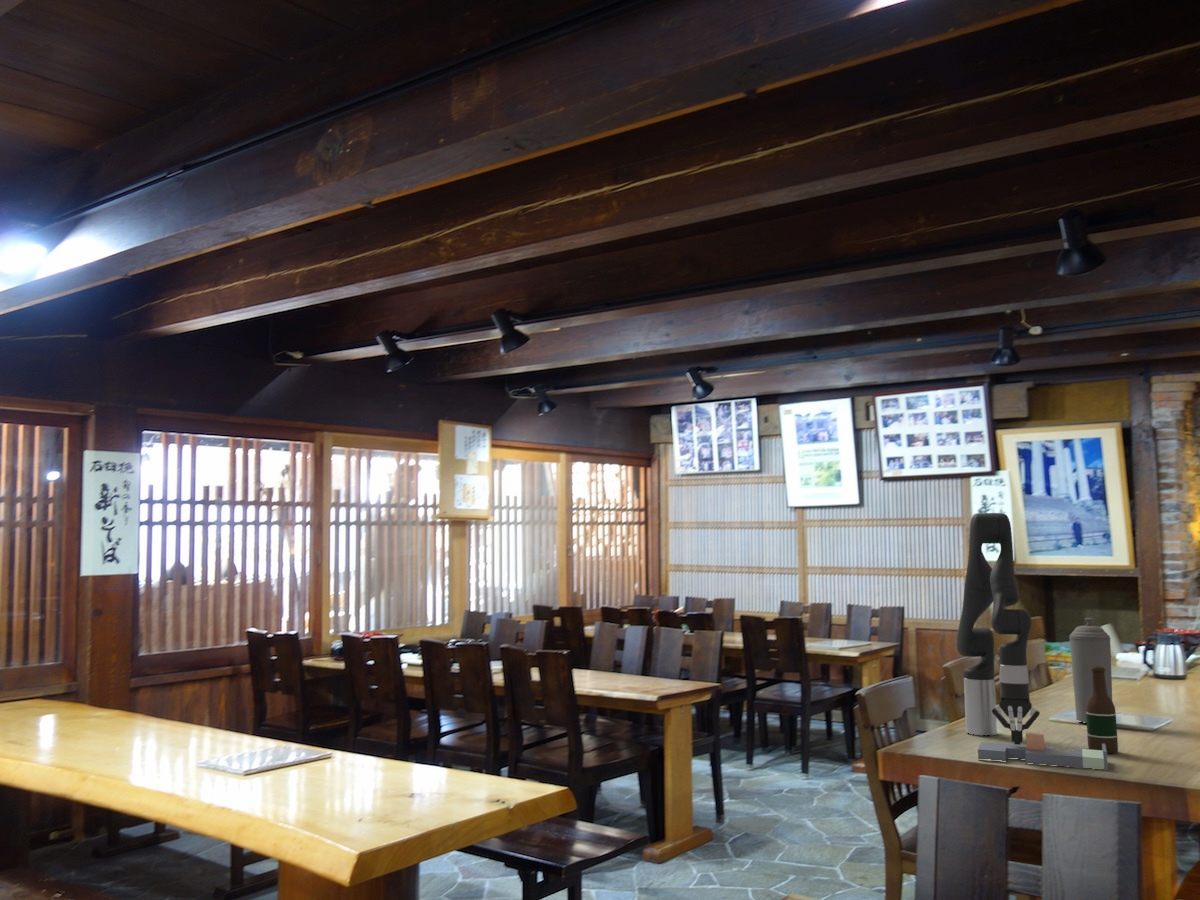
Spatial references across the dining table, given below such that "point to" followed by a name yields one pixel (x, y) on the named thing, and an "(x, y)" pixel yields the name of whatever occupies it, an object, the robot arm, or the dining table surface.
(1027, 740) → the block
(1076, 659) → the canister
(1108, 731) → the beer bottle
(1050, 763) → the board
